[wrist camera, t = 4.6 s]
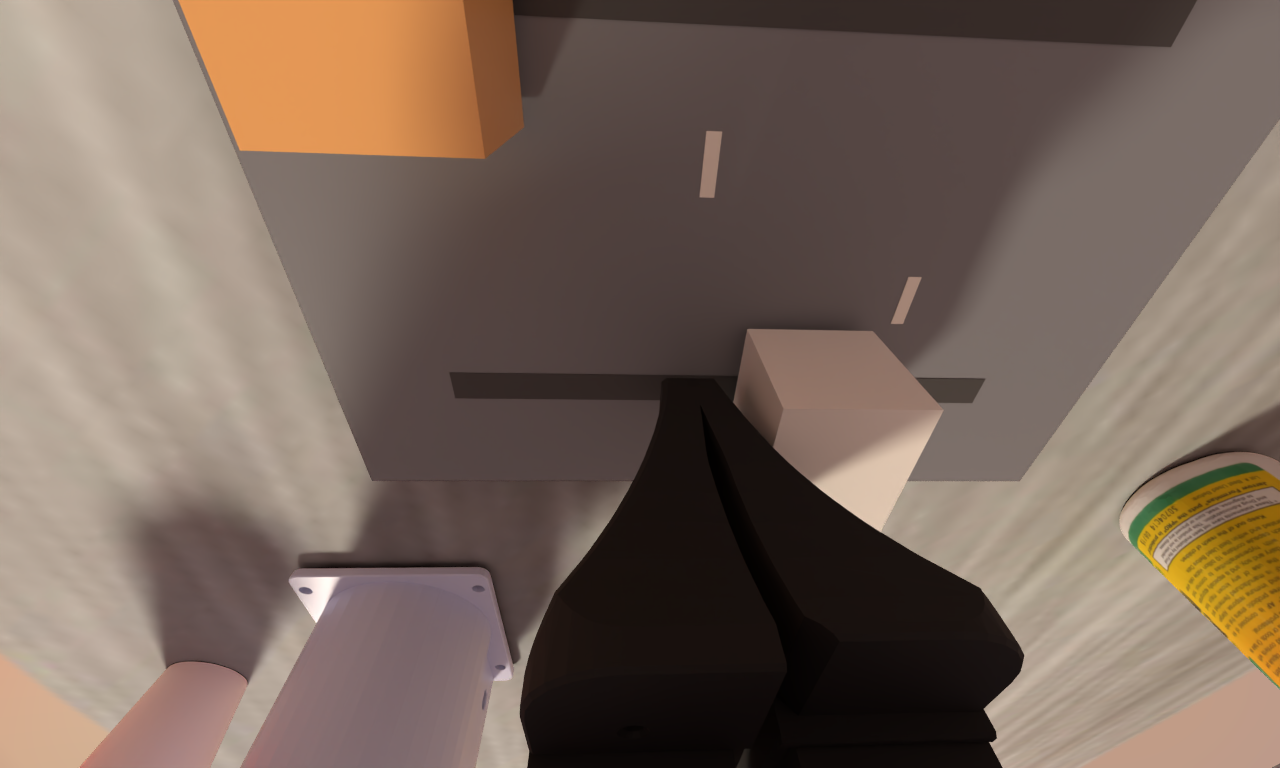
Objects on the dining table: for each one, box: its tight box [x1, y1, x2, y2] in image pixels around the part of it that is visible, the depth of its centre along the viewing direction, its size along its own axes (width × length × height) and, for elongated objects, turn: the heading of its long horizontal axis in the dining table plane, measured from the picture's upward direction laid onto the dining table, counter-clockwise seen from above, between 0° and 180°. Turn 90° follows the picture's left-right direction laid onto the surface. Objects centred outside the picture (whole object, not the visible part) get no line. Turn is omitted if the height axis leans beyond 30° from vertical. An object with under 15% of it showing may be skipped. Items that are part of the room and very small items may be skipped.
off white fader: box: [733, 329, 944, 532], centre depth 11 cm, size 4×3×3 cm
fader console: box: [173, 0, 1280, 481], centre depth 11 cm, size 15×20×2 cm
